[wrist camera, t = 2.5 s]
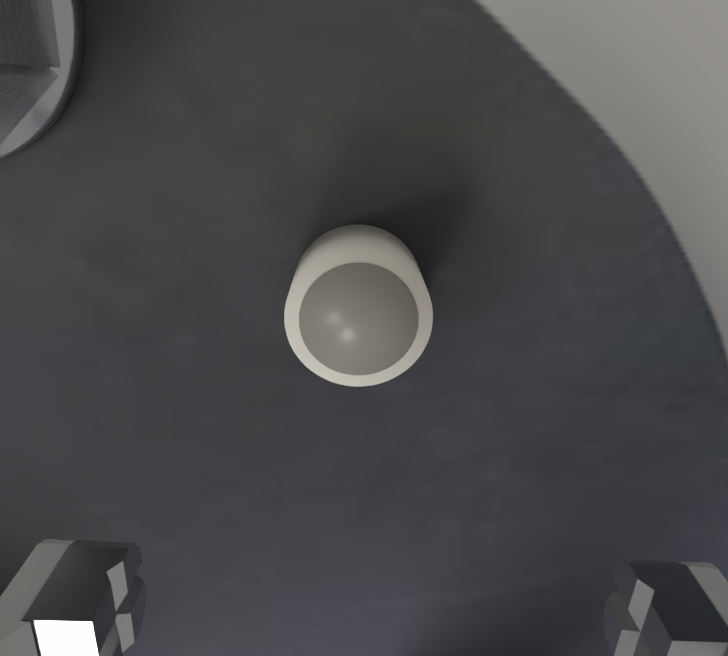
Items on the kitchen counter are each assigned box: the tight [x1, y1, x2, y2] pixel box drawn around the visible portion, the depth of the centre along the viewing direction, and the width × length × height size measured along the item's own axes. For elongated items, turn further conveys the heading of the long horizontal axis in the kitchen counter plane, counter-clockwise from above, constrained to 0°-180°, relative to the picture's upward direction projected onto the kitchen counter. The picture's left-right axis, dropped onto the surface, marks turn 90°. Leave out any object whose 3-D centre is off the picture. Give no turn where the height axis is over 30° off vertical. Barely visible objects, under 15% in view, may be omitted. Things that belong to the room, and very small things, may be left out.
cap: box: [284, 224, 433, 387], centre depth 23 cm, size 6×6×4 cm
